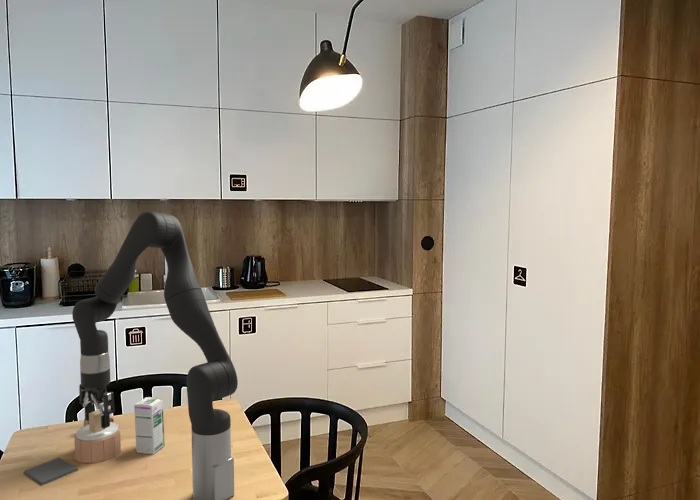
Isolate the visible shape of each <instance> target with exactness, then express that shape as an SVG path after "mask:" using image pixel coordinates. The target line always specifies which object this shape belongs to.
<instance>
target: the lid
mask: <svg viewBox="0 0 700 500" xmlns="http://www.w3.org/2000/svg"><path fill="white" fill-rule="evenodd" d="M118 426H119V424H118V423H115V422H114V421H113V422H110V426H109V427H107V428H104V429H103V428H101V414H100V411H99V409H97V410H94V412H91V413H89V425H86V426H84V425H83V426H81V427H80V428H79V429H77V430H76V437H77V439H79V440H82V441H97V440H102V439H105V438H108V437H111V436H113V435H114V434H116V433H117V432H118Z"/></svg>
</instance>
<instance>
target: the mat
mask: <svg viewBox="0 0 700 500" xmlns="http://www.w3.org/2000/svg"><path fill="white" fill-rule="evenodd" d="M77 471H79V468H78V467H76V466H74V465H73V464H71V463H70V462H68V461H66V460H65V459H63V458H61V457H57V458H54V459H51V460H48V461H46V462H44V463H41V464H38V465H35V466H33V467H30V468H27V469H25V470H23V473H24V474H25V475H27V476H28V477H29V478H31V479H33V480H34V481H36V482H37V483H38V484H40V485H42V486H44V485H46V484H48V483H51V482H53V481H55V480H58V479H61V478H64V477H65V476H68V475H71V474H72V473H74V472H77Z"/></svg>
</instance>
